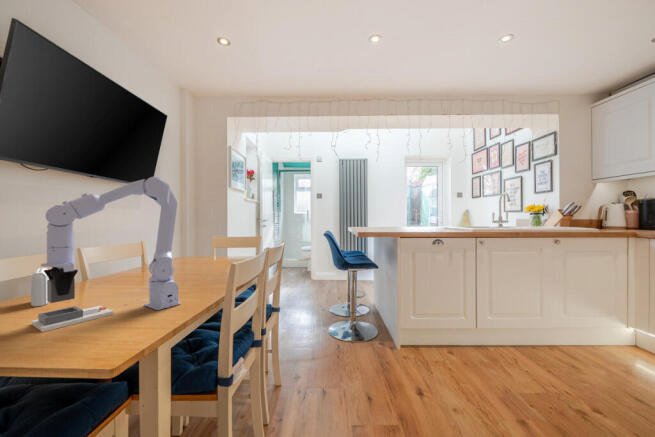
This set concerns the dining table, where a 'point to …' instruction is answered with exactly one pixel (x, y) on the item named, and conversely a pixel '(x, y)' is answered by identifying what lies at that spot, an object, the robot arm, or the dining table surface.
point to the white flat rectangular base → (68, 317)
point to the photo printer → (39, 287)
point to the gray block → (53, 295)
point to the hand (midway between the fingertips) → (61, 293)
